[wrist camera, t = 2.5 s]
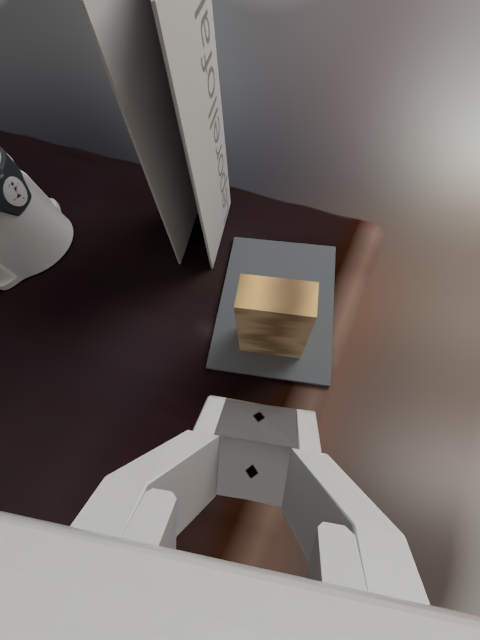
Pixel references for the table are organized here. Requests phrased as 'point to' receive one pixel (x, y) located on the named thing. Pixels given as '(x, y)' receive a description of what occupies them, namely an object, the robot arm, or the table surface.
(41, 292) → the table surface
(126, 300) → the table surface
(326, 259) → the rubber mat
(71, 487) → the table surface
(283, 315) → the wood block
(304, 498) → the robot arm
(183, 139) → the brochure
